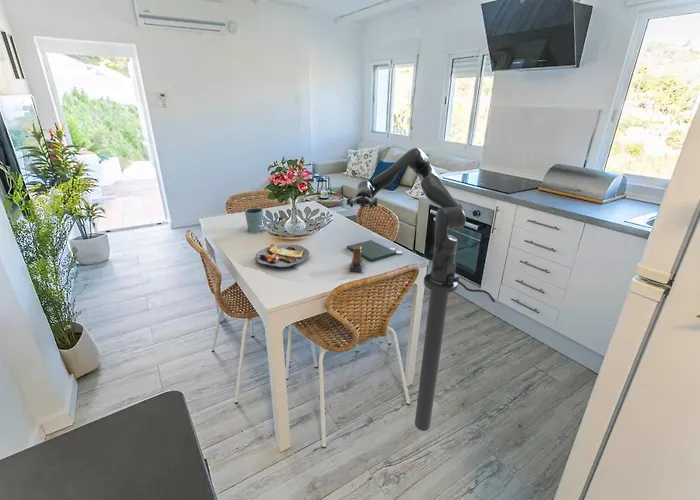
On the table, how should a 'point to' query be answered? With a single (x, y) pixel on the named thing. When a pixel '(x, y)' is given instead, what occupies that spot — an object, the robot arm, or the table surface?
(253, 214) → the grey-green cup
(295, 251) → the food plate
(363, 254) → the slate
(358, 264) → the brown block with base
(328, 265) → the table surface
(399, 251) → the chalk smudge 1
